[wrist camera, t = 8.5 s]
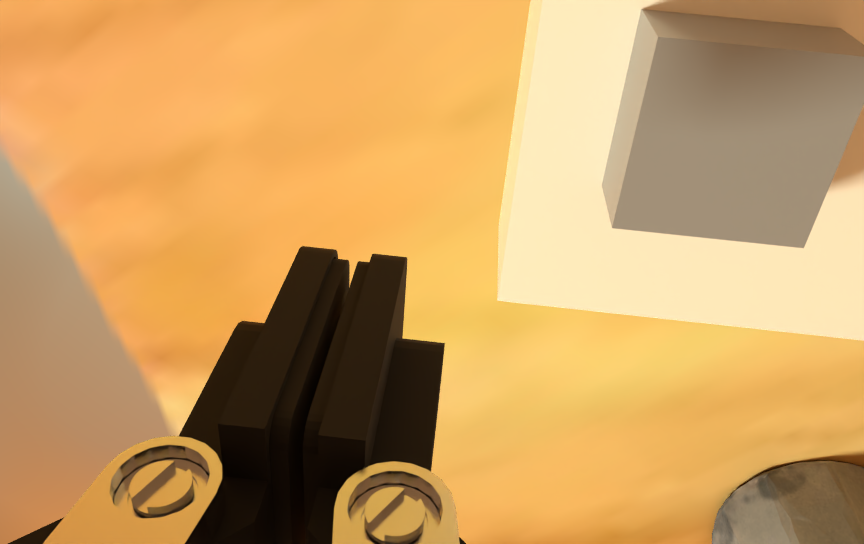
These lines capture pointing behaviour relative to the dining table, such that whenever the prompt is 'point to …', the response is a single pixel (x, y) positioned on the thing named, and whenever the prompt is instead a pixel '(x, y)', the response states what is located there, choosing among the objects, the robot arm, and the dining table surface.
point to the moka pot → (796, 507)
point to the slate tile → (731, 127)
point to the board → (646, 251)
